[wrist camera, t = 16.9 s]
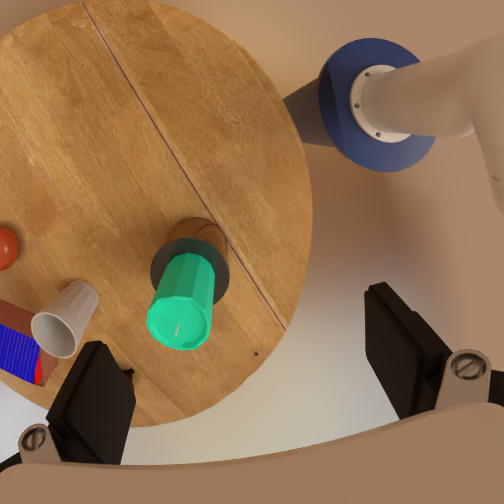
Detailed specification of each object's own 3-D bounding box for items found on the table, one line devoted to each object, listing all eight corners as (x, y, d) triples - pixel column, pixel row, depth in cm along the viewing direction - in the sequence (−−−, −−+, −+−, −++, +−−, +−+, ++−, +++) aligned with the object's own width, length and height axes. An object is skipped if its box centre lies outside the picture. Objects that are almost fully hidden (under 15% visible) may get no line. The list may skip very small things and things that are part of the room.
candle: (224, 283, 39) (223, 344, 27) (184, 306, 39) (170, 370, 28) (196, 243, 37) (182, 293, 25) (155, 268, 37) (128, 324, 26)
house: (-20, 288, 47) (-52, 316, 36) (56, 321, 51) (28, 359, 40) (-14, 333, 51) (-40, 363, 40) (58, 366, 54) (36, 404, 44)
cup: (111, 301, 50) (87, 343, 39) (86, 324, 51) (60, 366, 40) (79, 266, 47) (45, 302, 36) (55, 292, 49) (23, 329, 37)
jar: (220, 208, 46) (218, 229, 36) (235, 269, 49) (237, 302, 40) (157, 223, 46) (139, 248, 36) (175, 282, 49) (164, 317, 40)
